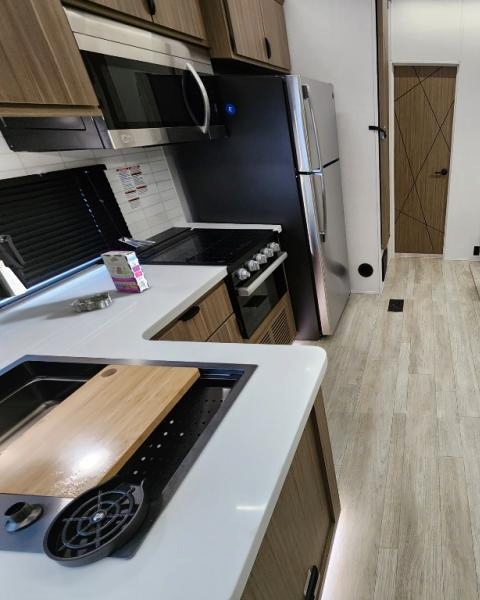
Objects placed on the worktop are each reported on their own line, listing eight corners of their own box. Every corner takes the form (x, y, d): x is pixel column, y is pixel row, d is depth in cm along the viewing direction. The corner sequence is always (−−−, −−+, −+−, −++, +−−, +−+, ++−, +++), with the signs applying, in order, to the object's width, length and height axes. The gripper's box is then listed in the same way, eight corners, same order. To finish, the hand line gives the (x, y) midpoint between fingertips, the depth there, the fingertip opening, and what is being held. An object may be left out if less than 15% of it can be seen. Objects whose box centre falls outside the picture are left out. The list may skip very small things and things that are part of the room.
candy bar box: (150, 287, 141) (135, 251, 133) (141, 292, 136) (125, 255, 128) (126, 286, 142) (110, 250, 134) (116, 291, 137) (99, 254, 130)
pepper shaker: (3, 299, 103) (-18, 266, 97) (2, 293, 106) (-19, 261, 100) (28, 293, 106) (8, 261, 101) (26, 287, 109) (7, 256, 104)
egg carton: (114, 300, 131) (110, 290, 129) (105, 309, 125) (101, 299, 123) (82, 303, 128) (77, 294, 126) (71, 313, 122) (66, 303, 120)
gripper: (-53, 230, 87) (-1, 306, 98) (15, 212, 103) (52, 280, 114) (-84, 230, 86) (-28, 307, 98) (-11, 213, 102) (29, 280, 114)
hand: (15, 292), depth 106 cm, fingers closed on pepper shaker, 5 cm apart
